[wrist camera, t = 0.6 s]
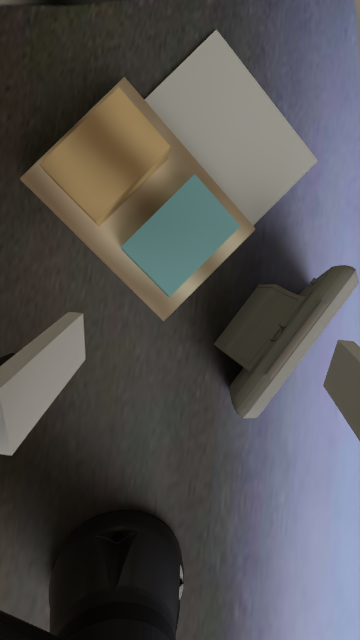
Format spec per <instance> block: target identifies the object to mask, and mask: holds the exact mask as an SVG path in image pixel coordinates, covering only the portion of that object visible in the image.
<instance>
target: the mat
mask: <svg viewBox="0 0 360 640" xmlns="http://www.w3.org/2000/svg"><path fill="white" fill-rule="evenodd" d="M145 101H146V102H147V104H148V105H149V106H150V107H151V108H152V109H153V111H154V112H155V113H156V114H157V115H158V116H159V118H160V119H161V120H162V121H163V122H164V123H165V124H166V126H167V127H168V128H169V129H170V130H171V131H172V133H173V134H174V135H175V136H176V137H177V138H178V140H179V141H180V142H181V143H182V144H183V145H184V146H185V148H186V149H187V150H188V151H189V152H190V153H191V155H192V156H193V157H194V158H195V159H196V160H197V162H198V163H199V164H200V165H201V166H202V167H203V168H204V170H205V171H206V172H207V173H208V174H209V175H210V177H211V178H212V179H213V180H214V181H215V182H216V184H217V185H218V186H219V187H220V188H221V189H222V190H223V192H224V193H225V194H226V195H227V196H228V197H229V199H230V200H231V201H232V202H233V203H234V204H235V206H236V207H237V208H238V209H239V210H240V211H241V212H242V214H243V215H244V216H245V217H246V218H247V219H248V221H249V222H250V223H251V224H252V225H254V224H255V223H256V222H257V221H258V220H259V219H260V218H261V217H262V216H263V215H264V214H265V213H266V212H267V211H268V210H269V209H270V208H271V207H272V206H273V205H274V204H275V203H276V202H277V201H278V200H279V199H280V198H281V197H282V196H283V195H284V194H285V193H286V192H287V191H288V190H289V189H290V188H291V187H292V186H293V185H294V184H295V183H296V182H297V181H298V180H299V179H300V178H301V177H302V176H303V175H304V174H305V173H306V172H307V171H308V170H309V169H310V168H311V167H312V166H313V165H314V164H315V163H316V162H317V161H318V160H317V159H316V158H315V157H314V155H313V154H312V153H311V151H310V150H309V149H308V147H307V146H306V145H305V144H304V142H303V141H302V140H301V138H300V137H299V136H298V135H297V133H296V132H295V131H294V129H293V128H292V127H291V125H290V124H289V123H288V122H287V120H286V119H285V118H284V116H283V115H282V114H281V113H280V111H279V110H278V109H277V107H276V106H275V105H274V103H273V102H272V101H271V100H270V98H269V97H268V96H267V94H266V93H265V92H264V91H263V89H262V88H261V87H260V85H259V84H258V83H257V81H256V80H255V79H254V78H253V76H252V75H251V74H250V72H249V71H248V70H247V69H246V67H245V66H244V65H243V63H242V62H241V61H240V59H239V58H238V57H237V56H236V54H235V53H234V52H233V50H232V49H231V48H230V47H229V45H228V44H227V43H226V41H225V40H224V39H223V37H222V36H221V35H220V34H219V32H218V31H217V30H215V31H214V32H213V33H212V34H211V35H210V36H209V37H208V38H207V39H206V40H205V41H204V42H203V43H202V44H201V45H200V46H199V47H198V48H197V49H196V50H195V51H194V52H193V53H192V54H191V55H190V56H189V57H188V58H187V59H186V60H185V61H184V62H183V63H182V64H181V65H179V66H178V67H177V68H176V69H175V70H174V71H173V72H172V73H171V74H170V75H169V76H168V77H167V78H166V79H165V80H164V81H163V82H162V83H161V84H160V85H159V86H158V87H157V88H156V89H155V90H154V91H153V92H152V93H151V94H150V95H149V96H148V97H147V98H146V99H145Z"/></svg>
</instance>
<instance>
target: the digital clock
mask: <svg viewBox="0 0 360 640" xmlns="http://www.w3.org/2000/svg"><path fill="white" fill-rule="evenodd" d="M357 285H358V277H357V273H356V269H354V268H353V267H351V266H346V265H342V266H334V267H331V268H330V269H329V270H327V271H326V272H325V273H323V274H322V275H321V276H319V277H318V278H317V279H315V278H313V279H312V281H311V282H310V284H309V285H308V286H306V287H305V288H304V289H303V290H302V291H301V292H300V294H299V295H298V294H295V293H292V292H290V291H288V290H285V289H284V288H282V287H280V286H279V285H276V284H260V285H258V286H257V287H256V289H255V290H254V291H253V293H252V294H251V295H250V297H249V298H248V299H247V301H246V302H245V303H244V305H243V306H242V307H241V309H240V310H239V311H238V313H237V314H236V315H235V316H234V318H233V319H232V320H231V322H230V323H229V324H228V326H227V327H226V328H225V330H224V331H223V332H222V334H221V335H220V336H219V338H218V339H217V340H216V342H215V343H214V345H215V346H216V347H217V348H219V349H220V350H221V351H223V352H224V353H225V354H227V355H228V356H229V357H231V358H232V359H233V360H235V361H236V362H237V363H239V364H240V365H241V366H242V367H243V369H242V370H241V371H240V373H239V374H238V375H237V377H236V378H235V379H234V381H233V382H232V383H231V385H230V387H229V390H230V395H231V400H232V404H233V407H234V409H235V411H236V412H237V414H238V415H239V416H240V417H241V418H256V417H257V416H259V414H260V413H261V412H262V411H263V409H264V408H265V407H266V406H267V404H268V403H269V402H270V400H271V399H272V398H273V396H274V395H275V394H276V392H277V391H278V390H279V389H280V387H281V386H282V385H283V383H284V382H285V381H286V379H287V378H288V377H289V375H290V374H291V373H292V371H293V370H294V369H295V367H296V366H297V365H298V363H299V362H300V361H301V359H302V358H303V357H304V356H305V354H306V353H307V352H308V350H309V349H310V348H311V346H312V345H313V344H314V342H315V341H316V340H317V338H318V337H319V336H320V334H321V333H322V332H323V330H324V329H325V328H326V326H327V325H328V324H329V323H330V321H331V320H332V319H333V317H334V316H335V315H336V313H337V312H338V311H339V309H340V308H341V307H342V305H343V304H344V303H345V301H346V300H347V299H348V297H349V296H350V295H351V293H352V292H353V291H354V289H355V288H356V286H357ZM263 356H264V357H263ZM260 358H261V361H260ZM257 362H258V365H257ZM254 366H255V369H254ZM251 370H252V373H250V372H251Z"/></svg>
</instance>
